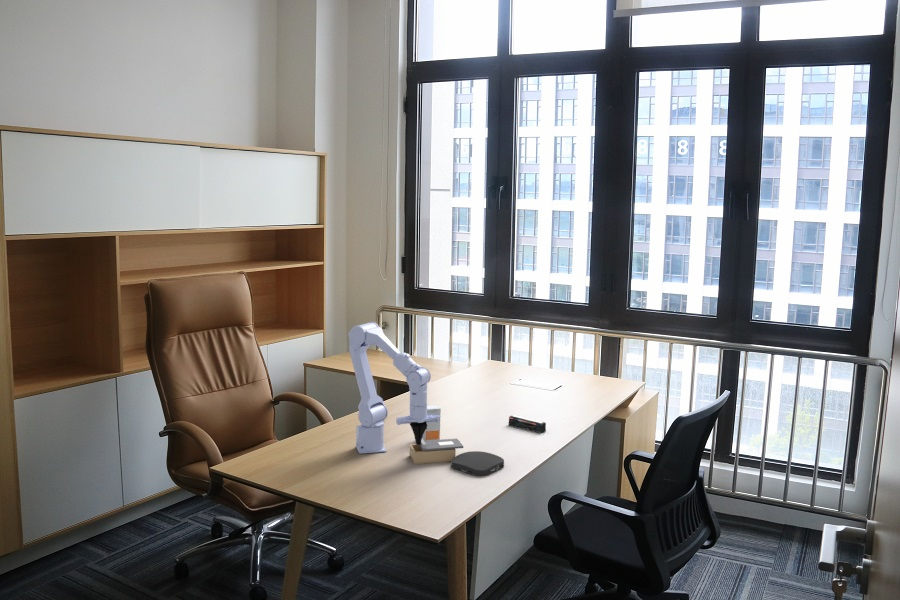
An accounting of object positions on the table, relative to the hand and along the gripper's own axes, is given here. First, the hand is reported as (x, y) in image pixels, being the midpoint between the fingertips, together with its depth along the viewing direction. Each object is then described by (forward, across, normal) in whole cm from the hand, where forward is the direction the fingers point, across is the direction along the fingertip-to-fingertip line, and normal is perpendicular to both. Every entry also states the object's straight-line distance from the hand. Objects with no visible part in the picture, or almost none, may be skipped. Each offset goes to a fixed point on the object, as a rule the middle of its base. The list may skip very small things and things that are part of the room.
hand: (418, 443), depth 258 cm
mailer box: (+6, +5, 0) cm, 7 cm away
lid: (+1, +8, 0) cm, 8 cm away
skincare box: (+6, +9, +19) cm, 22 cm away
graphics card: (+6, +47, +26) cm, 54 cm away
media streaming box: (+6, +18, -10) cm, 21 cm away
